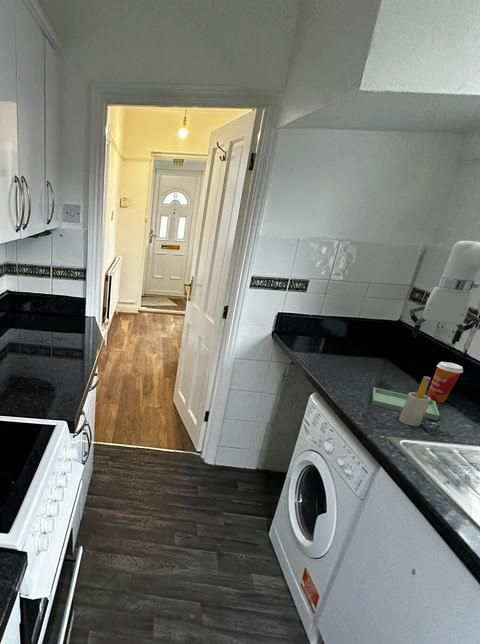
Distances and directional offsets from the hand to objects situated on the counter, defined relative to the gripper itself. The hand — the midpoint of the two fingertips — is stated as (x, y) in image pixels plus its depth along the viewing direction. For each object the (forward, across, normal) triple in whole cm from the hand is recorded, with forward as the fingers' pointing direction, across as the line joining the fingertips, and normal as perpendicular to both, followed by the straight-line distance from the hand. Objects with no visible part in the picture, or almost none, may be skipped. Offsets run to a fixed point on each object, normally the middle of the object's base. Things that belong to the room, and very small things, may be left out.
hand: (433, 340), depth 129 cm
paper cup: (+28, -9, -28) cm, 41 cm away
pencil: (+27, -2, +4) cm, 27 cm away
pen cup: (+28, -2, +4) cm, 28 cm away
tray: (+28, +1, -12) cm, 30 cm away
